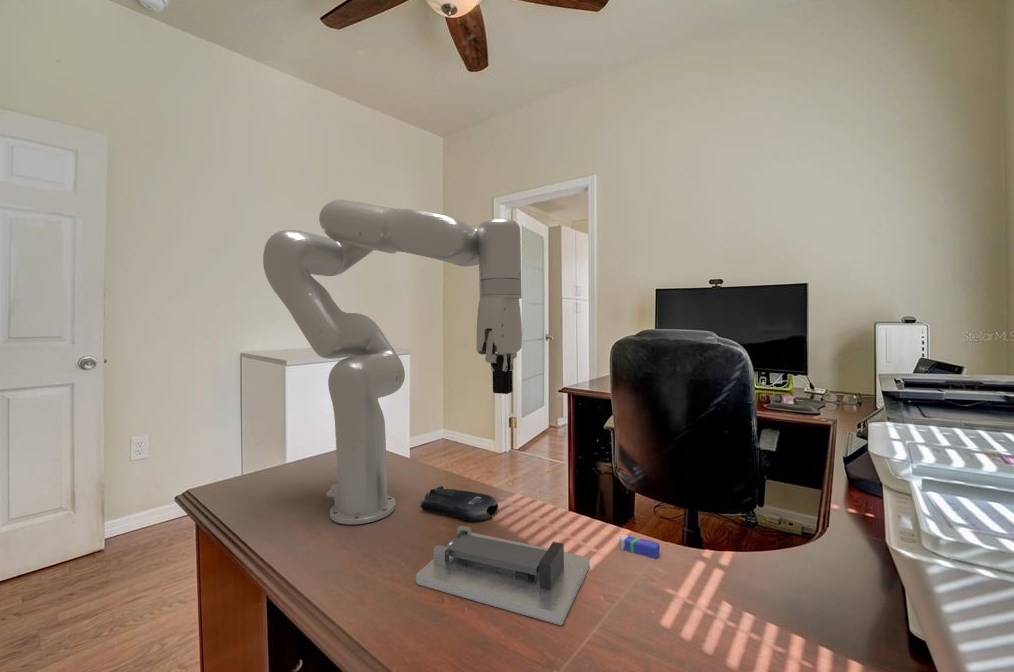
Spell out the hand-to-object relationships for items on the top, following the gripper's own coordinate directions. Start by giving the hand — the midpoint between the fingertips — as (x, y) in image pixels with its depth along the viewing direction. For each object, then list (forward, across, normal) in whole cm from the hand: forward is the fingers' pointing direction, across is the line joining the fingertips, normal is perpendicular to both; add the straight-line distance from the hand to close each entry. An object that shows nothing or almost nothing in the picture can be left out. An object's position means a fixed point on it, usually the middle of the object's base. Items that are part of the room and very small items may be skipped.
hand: (502, 392), depth 78 cm
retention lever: (+23, +13, +4) cm, 26 cm away
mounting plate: (+25, +13, +6) cm, 29 cm away
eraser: (+26, -2, +23) cm, 35 cm away
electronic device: (+26, -4, -12) cm, 29 cm away
